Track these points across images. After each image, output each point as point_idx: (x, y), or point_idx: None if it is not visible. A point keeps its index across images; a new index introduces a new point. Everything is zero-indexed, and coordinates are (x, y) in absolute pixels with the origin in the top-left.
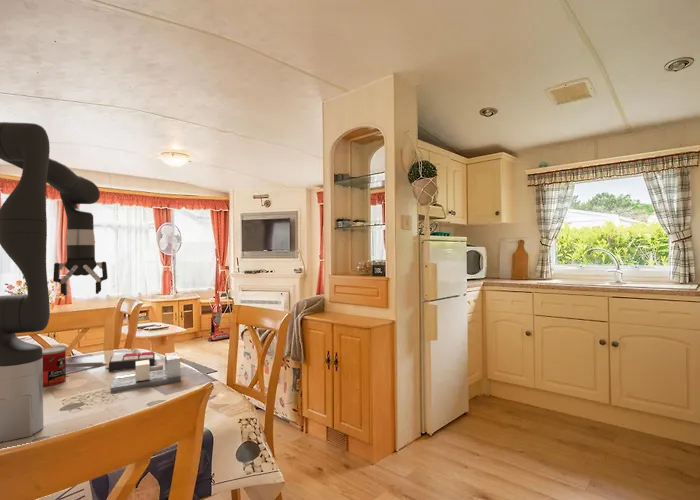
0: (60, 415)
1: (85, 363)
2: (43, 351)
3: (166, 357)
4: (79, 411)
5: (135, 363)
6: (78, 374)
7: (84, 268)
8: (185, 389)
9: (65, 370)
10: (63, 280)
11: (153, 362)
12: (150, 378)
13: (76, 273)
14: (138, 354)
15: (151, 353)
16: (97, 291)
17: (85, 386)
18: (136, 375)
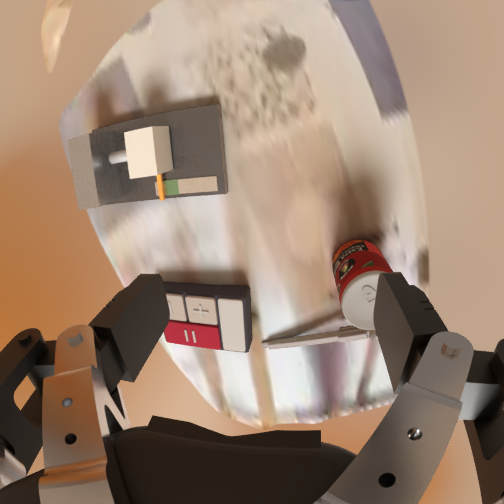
0: (295, 14)
1: (300, 341)
2: None
3: (91, 161)
4: (264, 19)
5: (192, 289)
6: (311, 297)
7: (107, 501)
8: (92, 78)
9: (334, 271)
10: (451, 359)
11: None
12: None
13: (297, 463)
14: (191, 332)
15: (166, 329)
16: (140, 280)
17: (283, 187)
18: (161, 126)
